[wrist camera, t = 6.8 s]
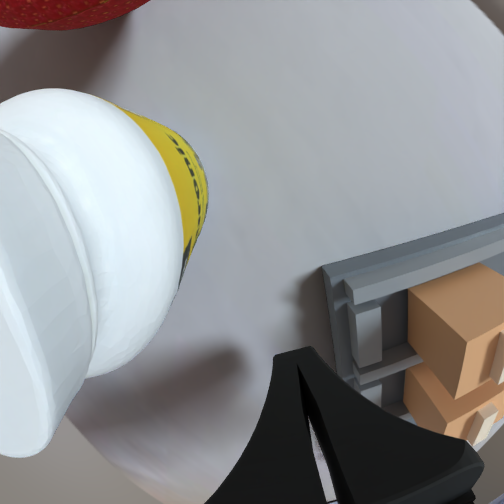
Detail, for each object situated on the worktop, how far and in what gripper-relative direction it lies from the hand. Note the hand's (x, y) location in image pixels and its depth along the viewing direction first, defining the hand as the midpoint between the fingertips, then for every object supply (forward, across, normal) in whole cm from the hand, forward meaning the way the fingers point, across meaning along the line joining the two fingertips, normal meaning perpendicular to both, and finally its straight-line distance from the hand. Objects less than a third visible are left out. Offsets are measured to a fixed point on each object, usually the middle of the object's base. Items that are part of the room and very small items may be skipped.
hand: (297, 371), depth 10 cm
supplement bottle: (+3, +4, -7) cm, 9 cm away
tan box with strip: (+1, -7, +4) cm, 8 cm away
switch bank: (+3, -11, +4) cm, 12 cm away
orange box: (+1, -7, 0) cm, 7 cm away
